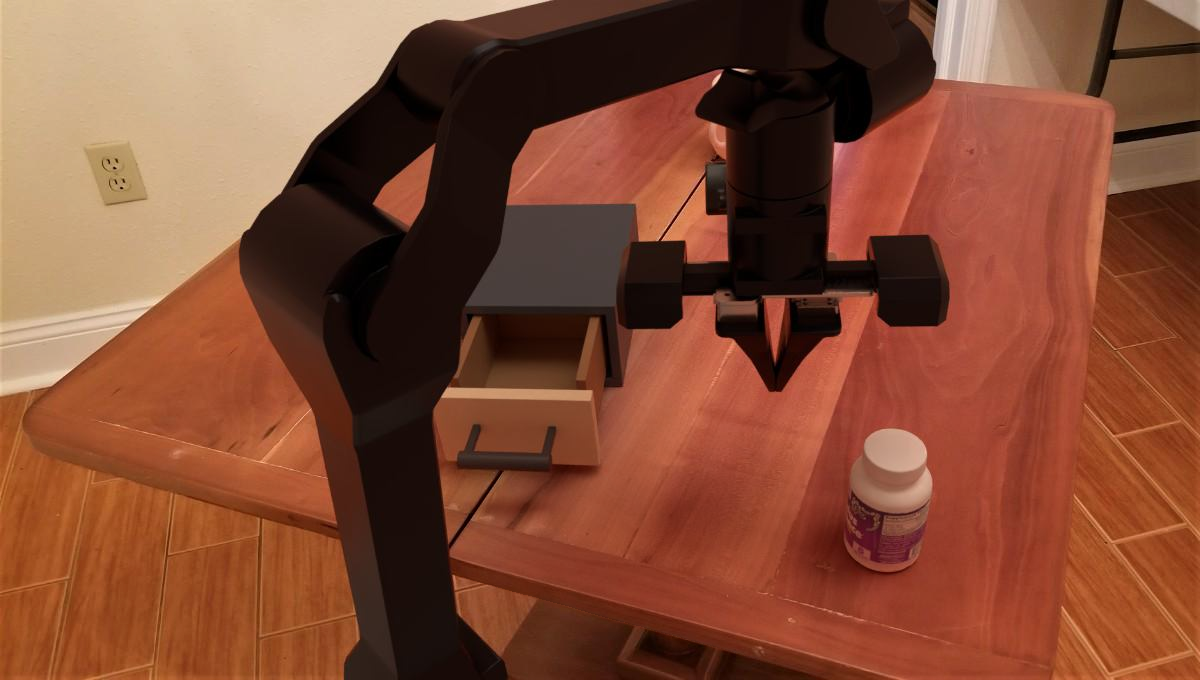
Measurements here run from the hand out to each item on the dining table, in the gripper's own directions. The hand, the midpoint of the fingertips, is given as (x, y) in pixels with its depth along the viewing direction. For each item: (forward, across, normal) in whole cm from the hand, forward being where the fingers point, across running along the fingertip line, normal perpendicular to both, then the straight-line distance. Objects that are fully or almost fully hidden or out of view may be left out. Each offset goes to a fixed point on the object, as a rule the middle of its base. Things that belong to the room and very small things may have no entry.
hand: (775, 387), depth 61 cm
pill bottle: (+14, -8, +2) cm, 16 cm away
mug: (+14, +1, -58) cm, 60 cm away
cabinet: (+13, +19, -24) cm, 33 cm away
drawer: (+12, +20, -10) cm, 25 cm away
